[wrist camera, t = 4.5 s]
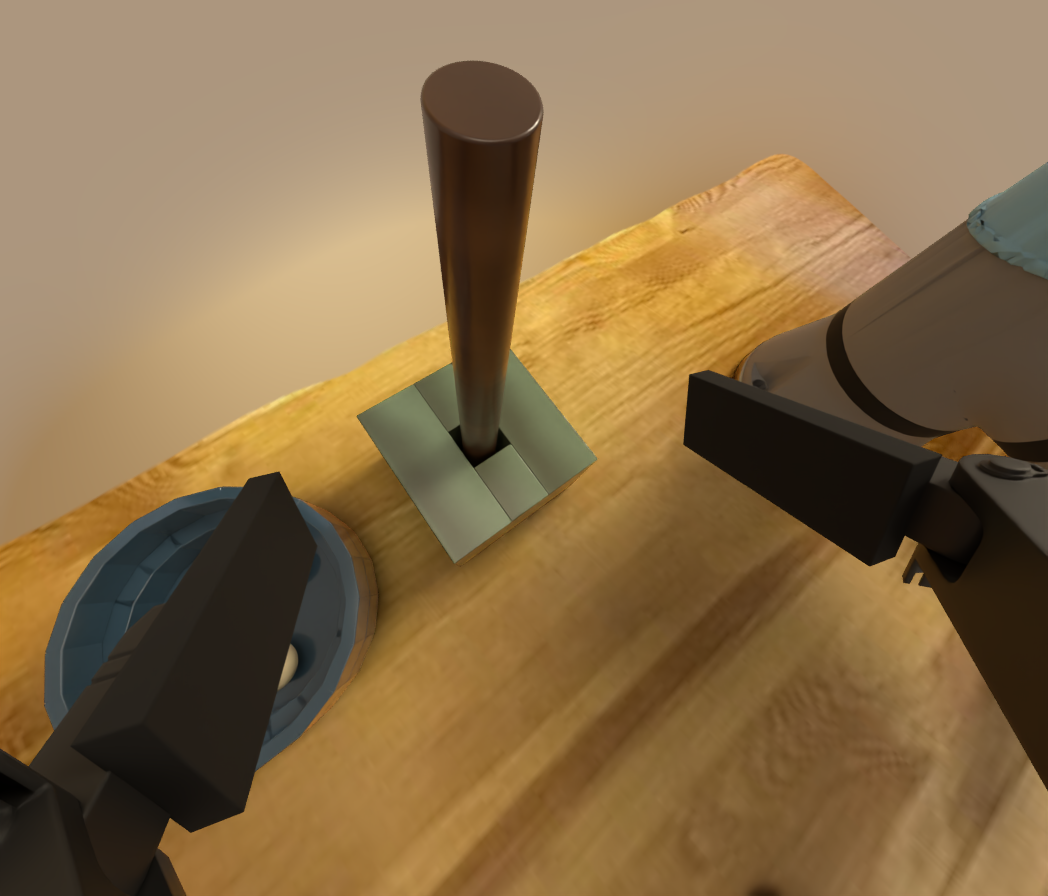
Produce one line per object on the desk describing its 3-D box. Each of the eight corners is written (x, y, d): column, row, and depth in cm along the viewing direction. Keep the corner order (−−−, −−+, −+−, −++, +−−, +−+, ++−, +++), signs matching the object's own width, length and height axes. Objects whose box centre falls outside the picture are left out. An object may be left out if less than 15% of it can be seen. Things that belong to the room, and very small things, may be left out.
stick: (482, 452, 32) (497, 46, 7) (497, 473, 31) (568, 117, 7) (460, 467, 31) (396, 78, 7) (475, 488, 31) (465, 157, 6)
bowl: (315, 463, 30) (281, 440, 25) (422, 636, 27) (409, 652, 22) (96, 589, 26) (0, 593, 21) (195, 812, 23) (112, 882, 18)
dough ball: (292, 626, 26) (270, 632, 23) (314, 665, 25) (293, 677, 22) (248, 656, 25) (219, 667, 22) (270, 698, 24) (242, 714, 21)
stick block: (495, 388, 34) (499, 335, 26) (569, 486, 32) (598, 458, 24) (385, 454, 31) (356, 415, 23) (460, 566, 29) (454, 564, 21)
